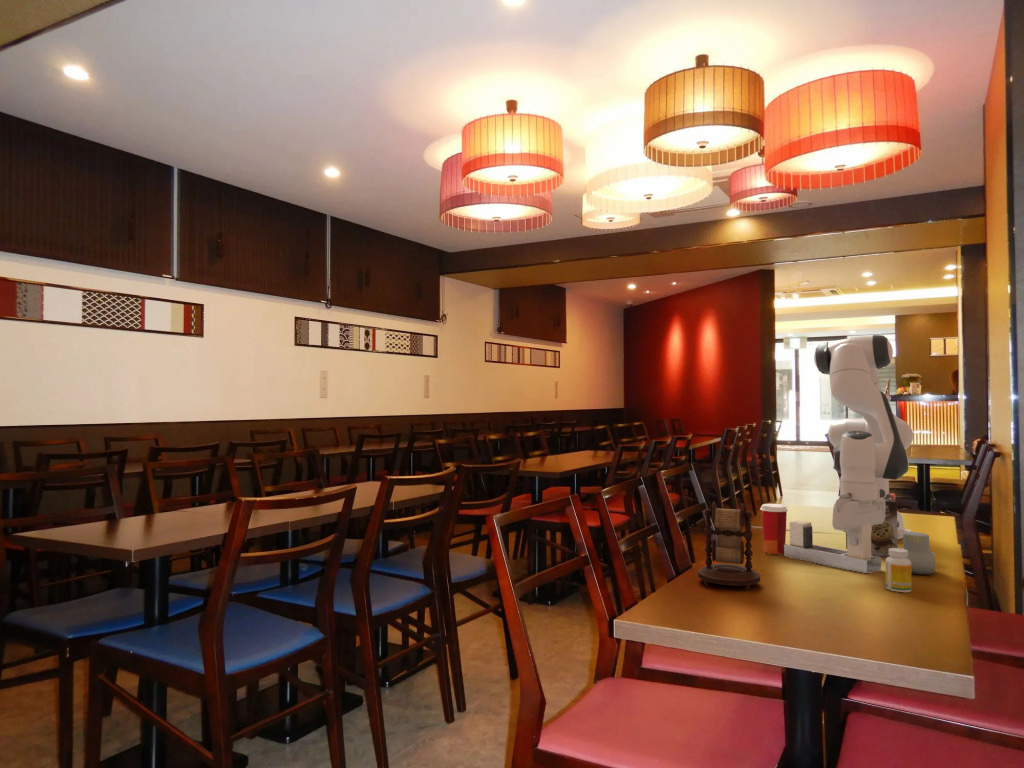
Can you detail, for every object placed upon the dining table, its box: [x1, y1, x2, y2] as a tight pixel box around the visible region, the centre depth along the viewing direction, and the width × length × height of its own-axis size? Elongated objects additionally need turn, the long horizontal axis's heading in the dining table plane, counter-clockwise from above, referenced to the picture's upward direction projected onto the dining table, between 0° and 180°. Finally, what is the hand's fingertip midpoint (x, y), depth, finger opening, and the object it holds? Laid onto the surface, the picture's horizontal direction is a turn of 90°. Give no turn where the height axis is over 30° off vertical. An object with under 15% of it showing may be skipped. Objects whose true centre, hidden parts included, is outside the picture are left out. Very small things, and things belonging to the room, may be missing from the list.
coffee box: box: [871, 499, 898, 558], centre depth 197 cm, size 9×6×16 cm
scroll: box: [697, 501, 761, 591], centre depth 167 cm, size 15×15×20 cm
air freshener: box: [901, 531, 937, 575], centre depth 177 cm, size 11×8×10 cm
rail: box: [783, 520, 882, 574], centre depth 186 cm, size 7×24×10 cm, turn 34°
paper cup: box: [759, 503, 788, 555], centre depth 200 cm, size 8×8×14 cm
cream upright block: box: [845, 524, 871, 559], centre depth 180 cm, size 5×4×9 cm
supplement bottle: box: [884, 547, 912, 593], centre depth 160 cm, size 5×5×10 cm
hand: (859, 544), depth 180 cm, fingers closed on cream upright block, 4 cm apart
